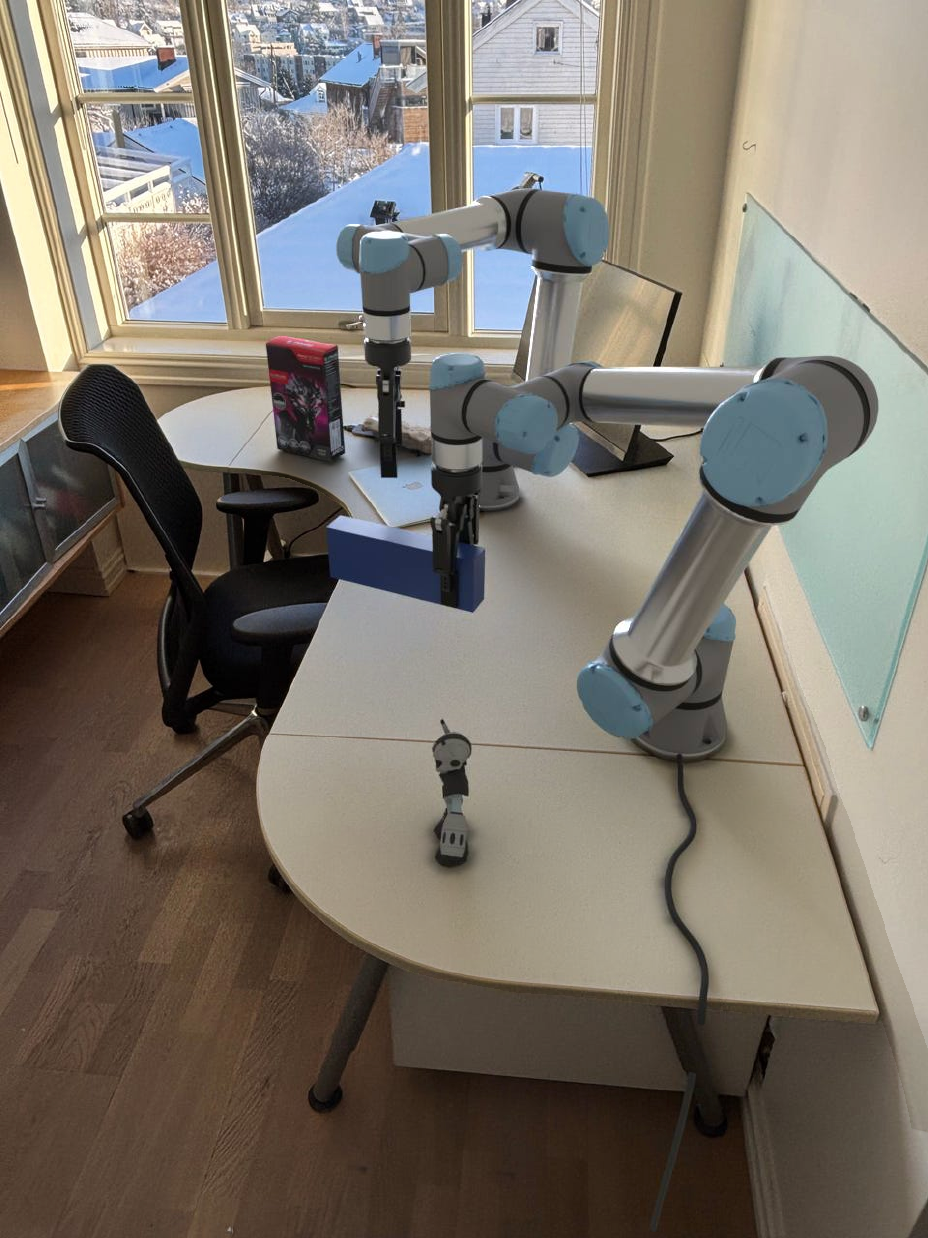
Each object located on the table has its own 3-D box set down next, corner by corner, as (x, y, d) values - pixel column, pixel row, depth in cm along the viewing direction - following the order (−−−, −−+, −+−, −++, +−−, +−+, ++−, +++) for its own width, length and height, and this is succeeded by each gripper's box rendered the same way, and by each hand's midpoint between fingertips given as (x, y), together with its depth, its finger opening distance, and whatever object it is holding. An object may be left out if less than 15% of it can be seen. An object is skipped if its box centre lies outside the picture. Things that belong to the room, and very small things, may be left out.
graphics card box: (274, 450, 230) (262, 341, 215) (291, 440, 235) (280, 333, 220) (331, 464, 224) (323, 352, 209) (347, 453, 229) (340, 344, 214)
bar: (484, 599, 148) (485, 547, 143) (473, 613, 145) (473, 561, 140) (344, 564, 157) (340, 515, 152) (330, 577, 154) (325, 526, 148)
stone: (345, 437, 230) (349, 413, 227) (367, 428, 243) (371, 405, 241) (423, 461, 226) (429, 437, 224) (441, 451, 239) (446, 428, 237)
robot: (474, 902, 115) (476, 785, 104) (435, 903, 115) (433, 787, 104) (466, 791, 132) (467, 679, 120) (432, 792, 131) (430, 680, 120)
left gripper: (370, 314, 158) (376, 431, 170) (355, 362, 137) (363, 491, 149) (414, 315, 158) (417, 432, 170) (406, 362, 137) (409, 492, 149)
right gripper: (458, 436, 142) (457, 566, 155) (406, 481, 129) (410, 619, 142) (503, 445, 140) (499, 576, 153) (454, 491, 127) (454, 631, 140)
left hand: (392, 460), depth 159 cm, fingers open, 13 cm apart
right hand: (456, 597), depth 147 cm, fingers closed on bar, 4 cm apart
